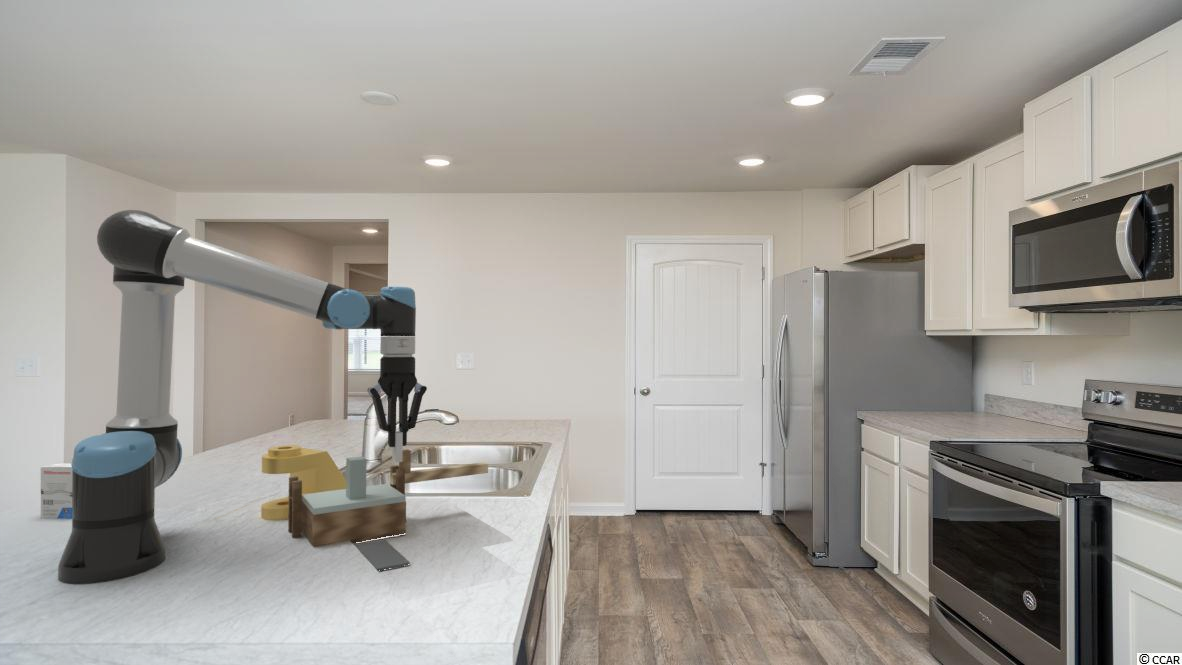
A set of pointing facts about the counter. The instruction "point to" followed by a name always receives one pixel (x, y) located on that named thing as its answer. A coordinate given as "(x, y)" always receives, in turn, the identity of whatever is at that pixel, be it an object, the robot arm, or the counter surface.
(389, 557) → the mat
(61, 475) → the ink box
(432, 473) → the key
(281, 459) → the yellow clevis bracket
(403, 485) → the wooden rack
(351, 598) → the counter surface
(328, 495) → the lid
